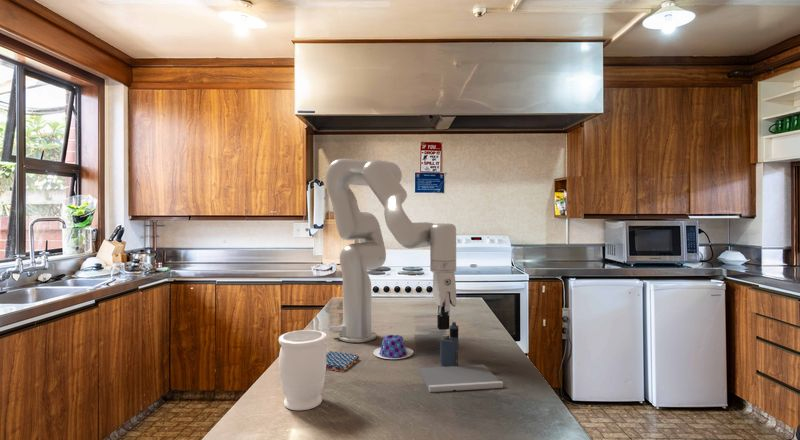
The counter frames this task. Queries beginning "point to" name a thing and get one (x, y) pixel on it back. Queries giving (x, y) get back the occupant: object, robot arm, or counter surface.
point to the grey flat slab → (459, 378)
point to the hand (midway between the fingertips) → (443, 328)
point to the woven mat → (340, 361)
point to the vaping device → (449, 347)
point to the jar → (302, 368)
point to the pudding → (393, 348)
